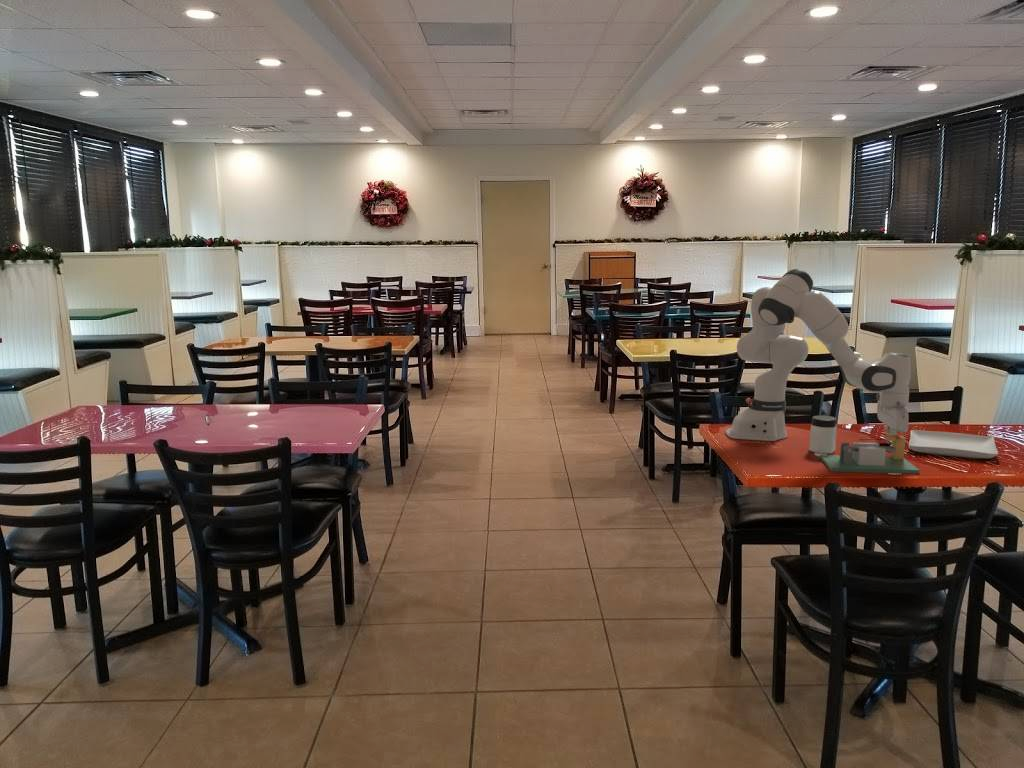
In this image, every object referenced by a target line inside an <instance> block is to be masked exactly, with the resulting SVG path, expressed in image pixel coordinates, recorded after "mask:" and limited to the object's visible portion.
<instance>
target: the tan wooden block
mask: <svg viewBox="0 0 1024 768" xmlns="http://www.w3.org/2000/svg"><path fill="white" fill-rule="evenodd" d="M883 440H885V441H886V442H891V443H890V447H894V448H895V449H896V452H890V456H889V457H892V458H893V459H898V460H904V459H905V449H906V438H905V437H904V436H903V435H899V434H898V435H897V434H896V435H887V434H883Z"/></svg>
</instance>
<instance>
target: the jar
mask: <svg viewBox="0 0 1024 768" xmlns="http://www.w3.org/2000/svg"><path fill="white" fill-rule="evenodd" d="M837 423H838V420H837V418H836V417H834V416H831V415H829V416H828V415H813V416H812V418H811V425H810V432H809V435H810V436H809V451H810V452H813V453H815V454H822V453H825V454H824V455H833V454H834V452H835V451H836V445H837V428H838V425H837Z"/></svg>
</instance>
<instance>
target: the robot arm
mask: <svg viewBox="0 0 1024 768" xmlns="http://www.w3.org/2000/svg"><path fill="white" fill-rule="evenodd" d="M813 286H814V281H813V278H812V276H810V274H809V273H808V272H806V271H804V270H802V269H798V268H793V269H790V270H789V271H787V272H785V273H784V274H783V275H782V276H781V278H780V279H779V280H777V282H775V284H774V285H773V286H772V287H771V286H770V287H768V286H764V287H760V288H759V289H756V290H755V292H754V293H753V295H752V297H751V305H750V312H751V314H750V315H751V321H752V328H751V330H750V331H749V332H747V333H746V334H743V335H742V336H741V337H739V340H738V341H737V344H736V353H737V354H738V355H737V356H738V357H739V358H740V359H741V360H743V361H746V362H752V363H757V364H758V363H760V364H771V365H772V368H771V369H770V370H767V371H765V372H763V373H761V374H759V375H758V376H756V378H755V381H754V393H753V394H754V397H753V398H752V399H751V398H750V397H747V398H746V399H745V402H746V404H748V407H747V409H745V410H743V411H741V413H739V414H736V416H735V417H734V418H733V421H732V423H731V427H729V428H726V430H725V435H726V436H728V437H729V438H731V439H736V440H752V441H765V442H776V441H777V440H782V439H785V438H787V437H788V434H787V430H786V421H785V414H786V410H787V409H786V408H787V401H786V389H787V388H786V387H787V383H788V379H789V377H790V375H791V373H792V372H793V370H794V369H795V368H796V367H798V366H799V365H801V364H802V363H803V362H805V360H807V357H808V354H809V344H808V342H807V341H806V340H805V339H804V338H803V337H799V336H796V335H793V334H783V332H784V331H785V328H786V324H792V323H793V322H794V320H795V318H798V319H800V320H801V321H802V322H803V323H804V324H805V325H806V327H807V328H808V330H810V331H811V333H812V334H813V335H814V337H816V339H818V340H819V341H820V342H821V343H822V345H824V346H825V348H826V349H827V351H828V352H829V354H830V355H831V356H832V358H833V359H834V361H836V363H837V365H838V366H839V369H840V372H841V375H842V378H843V381H844V382H845V383H846V384H847V385H848V386H851V387H854V388H855V387H856V388H860V389H862V390H865V391H868V392H879V393H876V400H877V408H876V411H877V413H876V415H877V419H878V420H879V421H880V422H882V423H883V424H884V425H886V427H885V428H886V435H897V434H898V433H907V432H908V430H909V411H908V409H907V408H906V407H908V406H909V399H910V388H909V386H910V385H909V384H910V382H911V376H912V375H911V373H912V372H911V371H912V366H911V364H912V363H911V359H910V357H909V356H908V355H906V354H904V353H898V352H892V351H889V352H888V351H887V352H886V353H884V355H882V356H881V357H879V358H877V359H875V360H873V361H870V360H866V359H864V358H861V357H859V356H857V354H855V352H854V351H853V349H852V348H851V347H850V346H849V344H848V342H847V341H846V339H845V338H846V336H847V334H848V332H849V324H848V321H847V320H846V317H845V316H844V315H843V313H842V312H841V310H840V309H839V308H838V307H837V306H836V305H835V304H834V303H833V301H831V300H830V299H829V298H828V297H827V296H826V295H824V294H823V293H822V292H821V291H818V290H812V289H813Z"/></svg>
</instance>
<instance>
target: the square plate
mask: <svg viewBox="0 0 1024 768" xmlns="http://www.w3.org/2000/svg"><path fill="white" fill-rule="evenodd" d="M909 434H910V438H909V441H908V447H909V448H910V450H912V451H914V452H917V453H923V454H928V455H929V454H930V455H938V456H949V457H957V458H958V457H959V458H968V459H979V460H980V459H992V458H995V457H997V455H999V451H998V449H997V446H996V441H995V438H994V436H988V435H987V436H985V435H979V434H969V433H968V434H967V433H959V432H949V431H937V430H936V431H933V430H932V431H931V430H919V429H918V430H917V429H912V430H910V433H909Z"/></svg>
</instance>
